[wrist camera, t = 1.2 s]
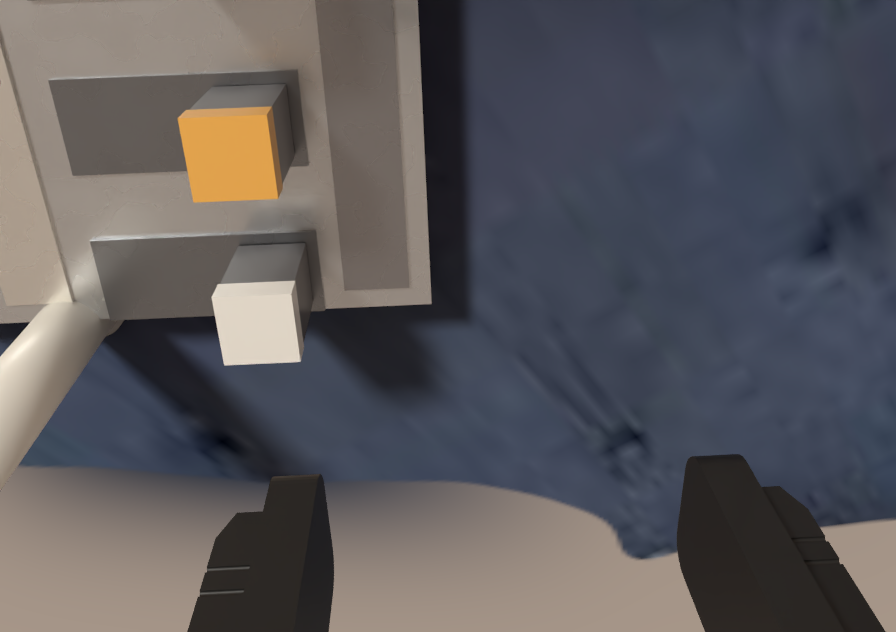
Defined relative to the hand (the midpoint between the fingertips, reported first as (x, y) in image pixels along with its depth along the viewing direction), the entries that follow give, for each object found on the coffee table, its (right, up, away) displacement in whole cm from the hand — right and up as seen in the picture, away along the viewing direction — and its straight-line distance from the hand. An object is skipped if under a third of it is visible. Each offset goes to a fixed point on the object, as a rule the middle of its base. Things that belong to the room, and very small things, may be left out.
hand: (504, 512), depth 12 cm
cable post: (-19, +4, +28) cm, 34 cm away
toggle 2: (-9, +5, +24) cm, 26 cm away
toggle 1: (-9, +11, +21) cm, 25 cm away
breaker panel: (-14, +12, +24) cm, 30 cm away
